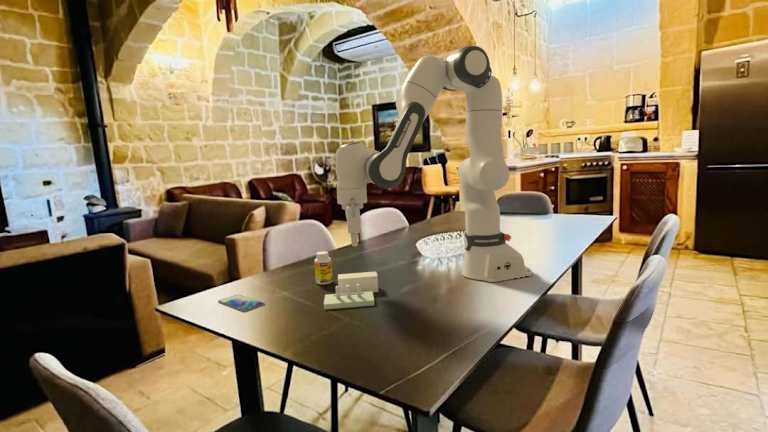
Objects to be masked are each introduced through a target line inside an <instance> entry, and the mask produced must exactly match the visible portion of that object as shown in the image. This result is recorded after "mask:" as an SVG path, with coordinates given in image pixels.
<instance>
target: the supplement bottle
mask: <svg viewBox="0 0 768 432" xmlns="http://www.w3.org/2000/svg"><path fill="white" fill-rule="evenodd" d="M315 255H316V257H315V259H314V261H313V262H314V272H315V273H314V274H315V283H316V284H318V285H322V286H323V285H329V284H331V283H332V282H333V268H332V267H333V266H332V265H333V264H332V258H331V257H330V255H329V252H328V251H323V250H322V251H318V252H316V253H315Z"/></svg>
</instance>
